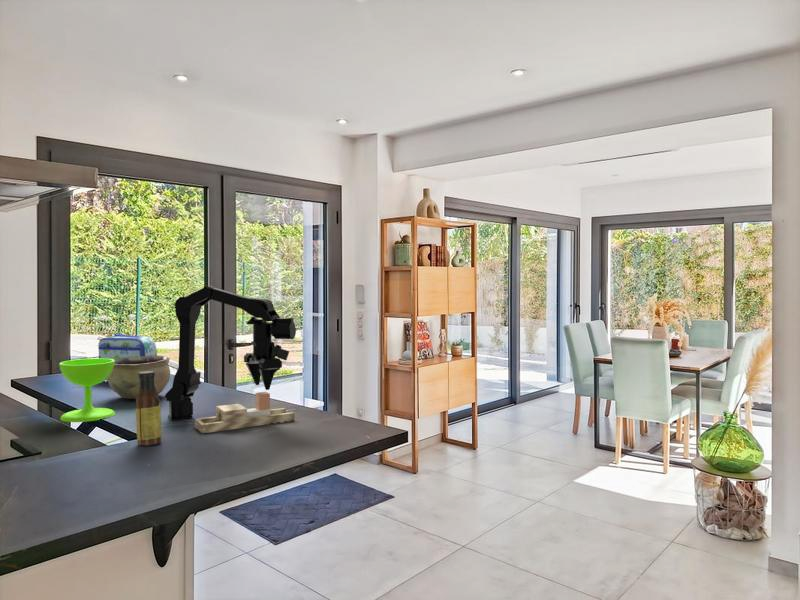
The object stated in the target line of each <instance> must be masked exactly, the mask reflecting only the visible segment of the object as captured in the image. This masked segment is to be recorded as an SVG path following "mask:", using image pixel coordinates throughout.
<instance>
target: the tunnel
mask: <svg viewBox="0 0 800 600" xmlns="http://www.w3.org/2000/svg"><path fill="white" fill-rule="evenodd" d="M247 409H248V408H247V407H245V406H243V405H241V404H240V403H235V404H234V403H233V404H224V405H216V406H215V415H216V416H208V417H200V418H194V428H195V429H197V431H199V432H200V433H201V434H207V433H216V432H223V431H229V430H236V429H243V428H251V427H256V426H257V427H258V426H264V425H265V424H266V425H270V423H273V424H278V423H277V422H280V423H285V422H284V421H287V422H292V421H291V420H294V421H295V412H293V411H290V412H286V410H287V409H286V407H282V408H274V409H273V408H270V415H267V416H259V417H252V418H247ZM221 414H223V421H221Z"/></svg>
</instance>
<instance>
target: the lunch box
mask: <svg viewBox="0 0 800 600" xmlns="http://www.w3.org/2000/svg"><path fill="white" fill-rule="evenodd" d="M97 347H98V358H104V359H117V358H123V357H139V356H150V355H158V354H157V353H158V351H157V346H156V342H155V340H154V339H152V338H151V337H149V336H143V335H128V334H121V333H116V334H114V335H113V336H108V337H102V338H101V339H99V342H98V346H97ZM105 380H107V381H108V377H107V378H106V379H105Z"/></svg>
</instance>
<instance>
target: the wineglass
mask: <svg viewBox="0 0 800 600" xmlns="http://www.w3.org/2000/svg"><path fill="white" fill-rule="evenodd" d="M114 363H115V360H114V359H104V358H99V357H98V358H93V357H92V358H80V359H70V360H65V361H61V362H59V363H58V365H59V369H60V373H61V374H62V376H63V377H64V378H65V379H66V380H67V381H68V382H70V383H71V384H73V385H76V386H78V387H79V386H80V387H84V406H83V407H82V408H80V409H75V410H71V411H68V412H65V413H63V414H62V415H61V416H60V421H62V422H64V423H65V422H67V423H87V422H94V421H100V419H102V418H106V417H110V416H112V417H114V416H115V415H116V411H114V410H113V409H112V408H109V407H108V408H107V407H94V406H93V405H92V387H93V386H96V385H99V384H101V383H103V381H104V380H105V379H106V378H107V377H108V376H109V375H110V374H111V372H112V370H113V367H114ZM114 414H115V415H114ZM113 415H114V416H113ZM110 418H111V417H110ZM106 419H107V418H106ZM102 420H103V419H102Z"/></svg>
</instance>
